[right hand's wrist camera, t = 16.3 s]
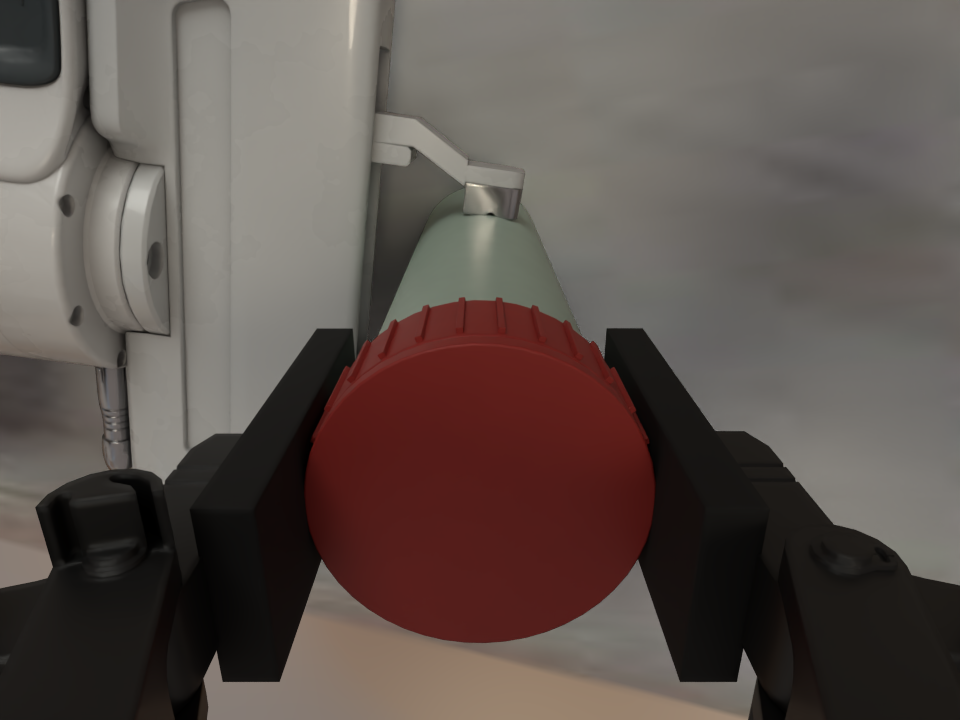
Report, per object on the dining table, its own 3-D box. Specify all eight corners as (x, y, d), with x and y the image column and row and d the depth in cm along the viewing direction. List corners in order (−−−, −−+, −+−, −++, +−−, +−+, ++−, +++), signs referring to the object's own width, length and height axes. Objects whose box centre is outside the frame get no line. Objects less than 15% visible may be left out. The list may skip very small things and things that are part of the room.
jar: (500, 318, 29) (531, 643, 12) (403, 265, 28) (280, 533, 11) (558, 222, 28) (692, 435, 10) (456, 163, 27) (414, 287, 9)
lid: (672, 333, 11) (714, 385, 9) (581, 584, 13) (600, 672, 11) (355, 261, 11) (325, 299, 9) (309, 533, 13) (277, 614, 11)
